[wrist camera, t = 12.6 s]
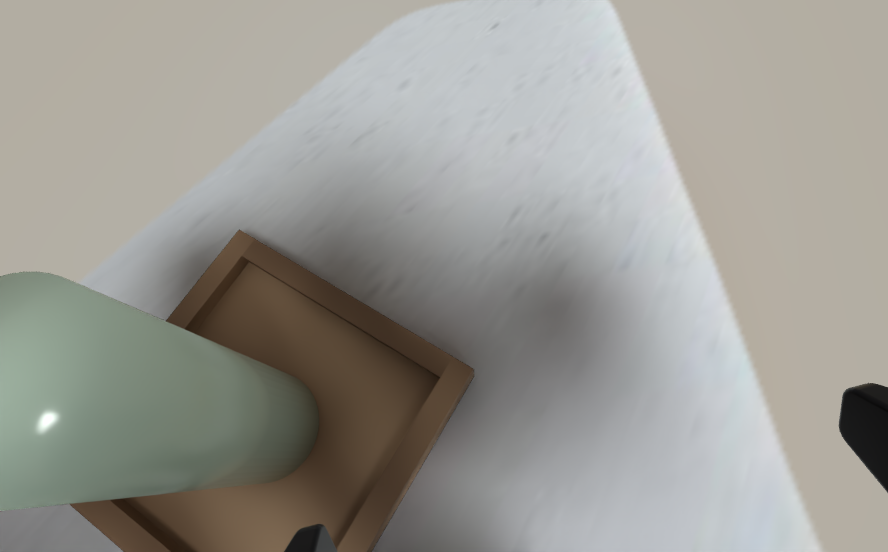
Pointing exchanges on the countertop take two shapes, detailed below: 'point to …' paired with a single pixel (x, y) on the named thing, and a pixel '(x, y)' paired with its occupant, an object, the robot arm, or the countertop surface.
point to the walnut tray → (339, 405)
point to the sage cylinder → (132, 403)
